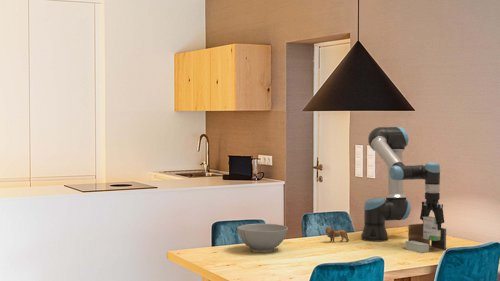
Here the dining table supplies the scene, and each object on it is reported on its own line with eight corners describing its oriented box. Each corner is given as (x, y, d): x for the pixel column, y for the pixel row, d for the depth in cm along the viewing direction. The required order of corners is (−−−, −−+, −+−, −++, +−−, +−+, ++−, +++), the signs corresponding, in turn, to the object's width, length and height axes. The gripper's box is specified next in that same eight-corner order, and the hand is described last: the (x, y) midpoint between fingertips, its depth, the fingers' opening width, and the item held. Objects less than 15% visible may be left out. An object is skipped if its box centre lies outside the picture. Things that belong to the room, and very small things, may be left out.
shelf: (400, 249, 386) (401, 225, 386) (428, 246, 395) (428, 222, 395) (421, 254, 372) (421, 229, 372) (449, 251, 381) (449, 227, 380)
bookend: (431, 246, 390) (431, 226, 390) (434, 246, 391) (434, 225, 391) (444, 249, 381) (444, 228, 381) (447, 249, 382) (447, 228, 382)
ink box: (440, 240, 379) (441, 217, 378) (433, 241, 377) (433, 218, 376) (430, 237, 387) (430, 215, 386) (422, 238, 384) (422, 216, 384)
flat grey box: (404, 248, 383) (405, 241, 383) (413, 248, 386) (413, 240, 386) (420, 252, 372) (420, 245, 372) (428, 251, 375) (429, 244, 375)
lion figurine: (327, 243, 404) (327, 227, 404) (323, 241, 409) (323, 226, 409) (351, 242, 408) (351, 226, 408) (347, 240, 414) (347, 225, 413)
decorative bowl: (228, 252, 379) (228, 229, 378) (250, 243, 403) (250, 222, 402) (275, 256, 367) (275, 233, 367) (295, 247, 391) (295, 225, 391)
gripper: (413, 190, 388) (412, 232, 389) (441, 194, 370) (440, 238, 370) (424, 189, 392) (423, 231, 393) (452, 193, 373) (451, 237, 374)
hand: (431, 234), depth 382 cm, fingers closed on ink box, 9 cm apart
